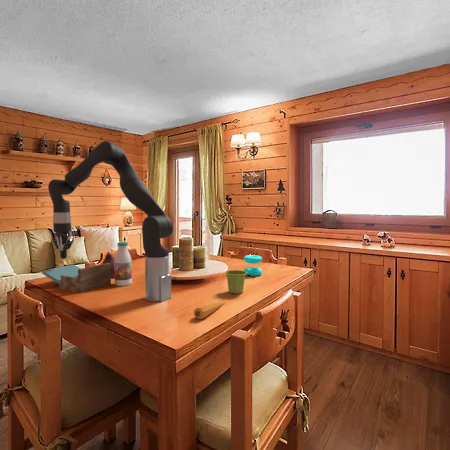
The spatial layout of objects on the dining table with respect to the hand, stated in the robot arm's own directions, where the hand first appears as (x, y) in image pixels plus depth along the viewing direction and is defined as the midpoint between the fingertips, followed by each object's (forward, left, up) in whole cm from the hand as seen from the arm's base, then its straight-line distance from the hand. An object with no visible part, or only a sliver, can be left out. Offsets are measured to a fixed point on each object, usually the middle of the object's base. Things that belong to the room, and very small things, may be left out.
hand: (63, 258), depth 145 cm
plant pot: (-79, -25, -12) cm, 84 cm away
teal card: (-7, 0, -10) cm, 12 cm away
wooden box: (-15, 0, -12) cm, 19 cm away
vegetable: (-10, -19, -12) cm, 25 cm away
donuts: (-73, -59, -12) cm, 95 cm away
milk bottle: (-27, -11, -12) cm, 32 cm away
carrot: (-82, 0, -12) cm, 83 cm away
